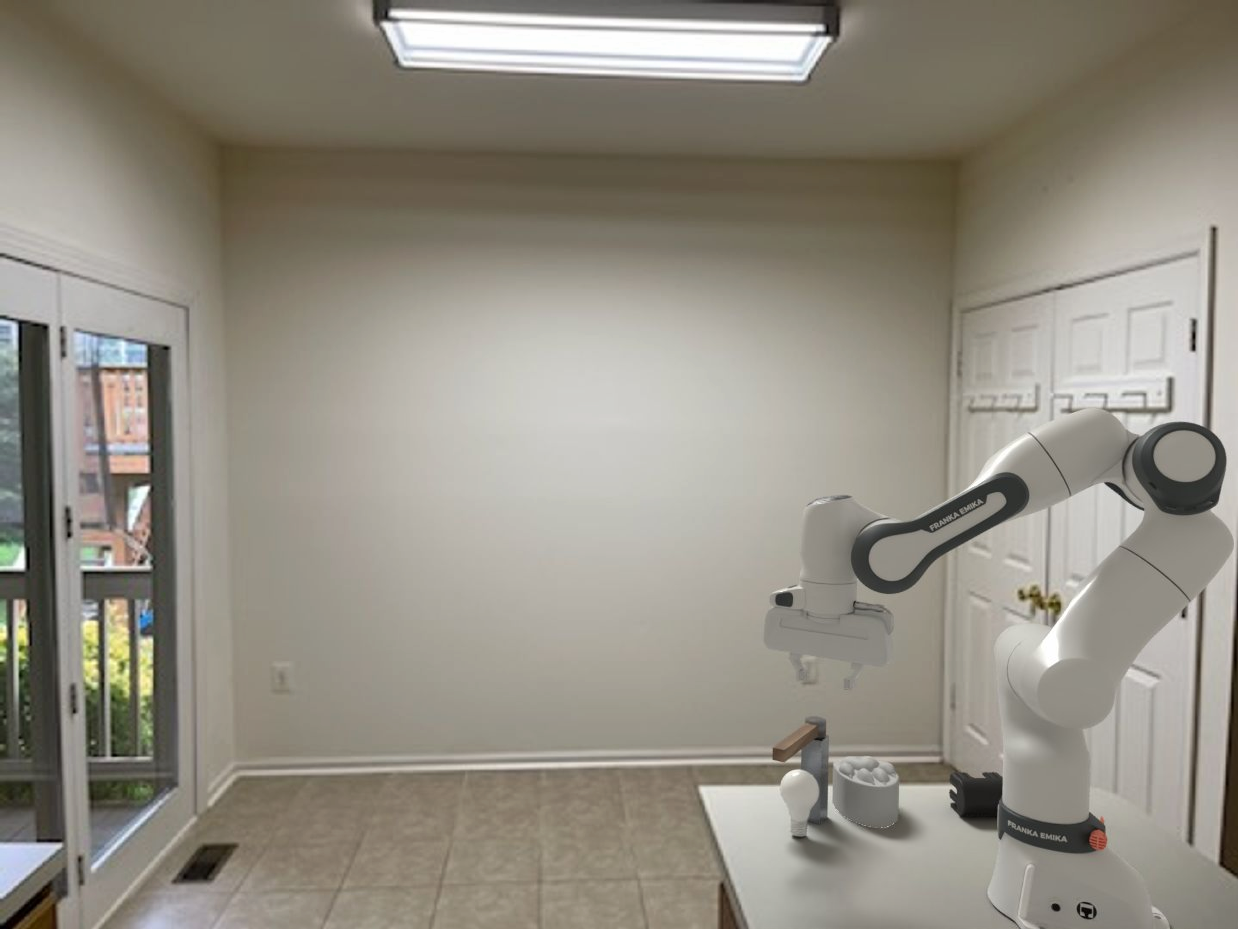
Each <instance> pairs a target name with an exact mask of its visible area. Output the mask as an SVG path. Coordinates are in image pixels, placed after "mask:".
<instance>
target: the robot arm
mask: <svg viewBox="0 0 1238 929" xmlns="http://www.w3.org/2000/svg"><path fill="white" fill-rule="evenodd" d="M1227 459H1228V458H1227V452H1226V449H1225V446H1224V444H1223V443H1222V440H1221V439H1220V437H1219V436H1218V435H1217V434H1215V433H1214V432H1213V431H1212V430H1210V429H1208V428H1207V427H1205V426H1203V425H1200V424H1197V423H1194V422H1189V421H1170V422H1166V423H1162V424H1158V425H1156V426H1154V427H1152V428H1150V429H1149V430H1147V431H1146V432H1145V433H1143V434H1142V435H1140V434H1137V433H1133V432H1132V431H1130V430H1129V429H1126V427H1125V426H1124V424H1123V423H1122V422H1121V421H1120V420H1119V418H1117V417H1116V416H1115V415H1114V414H1112V413H1110V412H1109V411H1107V410H1106V409H1102V408H1098V407H1087V408H1084V409H1080V410H1077V411H1075V412H1072V413H1068V414H1066V415H1063V416H1060V417H1058V418H1056V419H1053V420H1051V421H1048V422H1046V423H1044V424H1041V425H1039V426H1037V427H1035V428H1034V429H1031V430H1029V431H1027V432H1025V433H1024V434H1022V435H1020V436H1019V437H1017V438H1015V439H1014V440H1012V441H1010V442H1009V443H1007V444H1006V445H1005V446H1003V447H1002V448H1000V449H999V450H998V451H996V452H995V453H994V454H993V455H991V456H990V457H989V458H988V459H987V460H986V461H985V464H984V465H983V467H982V468H981V470H980V473H979V474H978V476H977V477H976V478H975V479H974V481H972V483H971V484H969V486H968V487H966V488H965V489H964V490H962V491H961V492H959V493H958V494H956V495H955V496H953V497H951V498H949V499H947V500H946V501H944V502H941V503H940V504H939V505H936V506H934V507H933V508H931V509H929V510H927V511H925V512H924V513H921V514H920V515H919V516H916V517H915V518H911V519H909V520H905V521H903V520H900V519H897V518H894V517H891V516H889V515H888V516H887V515H886V514H882V513H880V512H878V511H875V510H873V509H871V508H869V507H868V506H865V505H864V504H863V503H861V502H859V501H858V500H857V499H855V498H854V496H851V495H848V494H836V495H828V496H823V497H819V498H815V499H813V500H812V501H810V502H809V503H808V504H807V505H805V507H804V509H803V512H802V516H801V523H800V531H799V532H800V533H799V534H800V535H799V553H800V558H801V569H800V573H799V575H798V576H799V578H798V584H795V585H791V586H788V587H785V588H784V587H783V588H781V589H778V590H775V591H773V592H771V593H770V594H769V597H768V598H769V600H768V601H769V605H771V607H770V608H768V610H767V611H766V613H765V619H764V626H763V643H764V645H765V646H766V648H767V649H768V650H771V651H773V650H774V651H778V652H779V651H780V652H785V653H789V654H788V655H789V656H788V659H789V661H790V663H791V665H792V667H793V669H794V671H795V681H796V682H801V683H806V682H808V681H809V669H807V668H804V665H803V663H802V661H801V659H802V658H803V656H809V657H810V656H811V657H815V658H822V659H827V660H829V659H830V660H834V661H842V662H847V663H850V669H851V670H854V671H853V672H852V674H851V675H850V676H848V675H847V676H846V677H844V678H843V684H844V685H843V690H844V691H845V690H846V691H851V692H854V691H855V690H856V691H857V687H858V686H857V685H858V684H857V680H858V678H859V676H860V674H862V671H863V670H864V669H865V666H872V667H876V668H877V667H878V668H884V667H885V666H887V665H889V664H890V663H891V662H892V660H893V659H894V644H893V635H892V632H893V631H894V627H895V626H894V625H895V624H894V623H895V618H894V614H893V612H892V611H891V610H890V609H889V608H887V607H885V605H883V604H880V603H874V604H873V603H868V602H863V601H857V595H858V594H857V591H858V587H857V586H858V584H857V583H858V582H857V581H858V580H859V582H860V583H861V584H863V585H864V586H865V587H866V588H868V589H869V590H871V591H873V592H876V593H879V594H884V595H895V594H900V593H903V592H905V591H907V590H910V589H911V588H913V587H914V585H916V584H917V583H918V582H919V581H920V579H921V578H922V577H923V576H924V574H925V573H926V572H927V570H928V569H929V568H930V567H931V566H932V565H933V563H934V562H935V561H937V560H938V559H939V558H940V557H942V556H944V555H946V554H947V553H949V552H951V551H952V550H954V549H956V548H958V547H959V546H962V545H964V544H966V543H967V542H969V541H970V540H973V539H974V538H976V537H978V536H980V535H981V534H983V533H986V532H987V531H990V529H993V528H995V527H997V526H1000V525H1002V524H1005V523H1008V522H1011V521H1013V520H1016V519H1017V520H1018V519H1019V518H1022V517H1026V516H1028V515H1032V514H1035V513H1038V512H1041V511H1042V510H1045V509H1048V508H1050V507H1053V506H1055V505H1057V504H1060V503H1061V502H1063V501H1065V500H1068V499H1070V498H1071V497H1073V496H1075V495H1077V494H1079V493H1081V492H1082V491H1085V490H1087V489H1089V488H1091V487H1094V486H1095V485H1099V484H1104V485H1105V486H1106V487H1108V488H1109V489H1110V490H1112V491H1113V492H1114V493H1115V494H1117V495H1118V496H1120V497H1121V499H1123V500H1124V501H1125V502H1127V503H1128V504H1130V505H1131V506H1132V507H1134V508H1136V509H1138V510H1140V511H1143V513H1144V514H1143V517H1142V519H1141V522H1140V523H1139V525H1138V526H1137V527H1136V529H1135V530H1134V531H1133V532H1132V533H1131V534H1130V535H1129V536H1128V537H1127V538H1126V539H1125V540H1124V541H1123V542H1122V543H1120V544H1119V545H1118V546H1117V547H1116V548H1114V549H1113V551H1112V552H1111V553H1110V554H1108V555H1107V557H1105V558H1104V560H1102V561H1101V562H1100V563H1099V564H1098V565H1097V566H1096V567H1095V568H1094V569H1093V570H1092V571H1091V572H1089V574H1088V575H1086V576H1085V577H1084V578H1083V579H1081V581H1080V582H1079V583H1078V584H1077V585H1076V587H1075V588H1074V593H1073V596H1072V598H1071V601H1070V602H1069V603H1068V605H1067V607H1066V608H1065V610H1064V611H1063V613H1062V614H1061V616H1060V617H1059V618H1058V620H1057V622H1056V623H1055V624H1054V625H1053V626H1052V627H1051V626H1049V625H1046V624H1041V623H1037V622H1035V623H1033V622H1021V623H1020V622H1019V623H1016V624H1013V625H1010V626H1009V627H1007V628H1005V629H1004V630H1003V631H1002V632H1001V633H1000V634H999V635H998V636H997V638H996V641H995V643H994V646H993V658H994V664H995V670H996V671H995V672H996V688H997V700H998V710H999V717H1000V718H999V719H1000V726H1001V734H1002V751H1003V752H1002V754H1003V755H1002V761H1003V762H1002V777H1003V789H1002V796H1001V799H1000V800H999V805H998V815H997V816H996V818H997V820H996V822H997V823H996V824H997V826H996V827H997V829H996V830H997V833H998V834H997V836H998V839H999V843H998V848H997V850H998V851H997V855H996V861H995V866H994V869H993V873H992V877H991V879H990V883H989V885H988V888H987V894H986V895H987V897H988V899H989V901H990V902H991V904H992V905H993V906H994V907H995V908H996V909H997V910H998V911H1000V912H1001V913H1002V914H1004V915H1005V916H1006V917H1008V918H1010V919H1011V920H1013V921H1014V922H1015V923H1016V925H1017V926H1018V927H1019V928H1020V929H1171V925H1170V923H1169V921H1168V919H1167V917H1166V916H1165V915H1164V913H1163V912H1162V911H1161V910H1159V909H1158V908H1157V907H1155V906H1153V904H1152V900H1151V896H1150V893H1149V892H1150V891H1149V889H1148V886H1147V884H1146V881H1145V879H1144V878H1143V876H1142V875H1141V874H1140V872H1139V871H1137V870H1136V869H1135V868H1134V867H1132V866H1131V865H1130V864H1129V863H1128V862H1126V860H1124V859H1123V858H1122V857H1121V856H1119V855H1118V854H1117V853H1116V851H1114V850H1113V849H1112V848H1111V847H1109V846H1108V844H1107V843H1108V837H1107V832H1106V830H1107V829H1106V825H1105V819H1104V817H1103V816H1100V819H1099V818H1098V817H1096V815H1094V814H1093V813H1092V812H1090V796H1091V795H1090V792H1091V790H1090V789H1091V756H1090V752H1089V749H1088V746H1087V742H1086V738H1085V737H1086V736H1085V733H1084V730H1086V729H1087V730H1088V729H1090V728H1093V727H1095V726H1097V725H1099V724H1100V723H1102V721H1104V720H1105V719H1106V718H1107V717H1108V716H1109V715H1110V713H1111V711H1112V709H1113V707H1114V705H1115V699H1116V698H1115V697H1116V691H1117V689H1118V687H1119V685H1120V684H1121V682H1122V680H1123V679H1124V677H1125V675H1126V674H1127V673H1128V672H1129V669H1130V668H1131V666H1132V665H1133V663H1134V662H1135V660H1136V659H1137V657H1138V656H1139V654H1140V653H1141V652H1142V651H1143V649H1144V648H1145V646H1147V644H1149V642H1150V641H1151V640H1152V639H1153V638H1154V637H1155V636H1157V634H1159V633H1160V631H1162V630H1163V628H1165V627H1166V626H1167V624H1169V623H1171V621H1172V620H1173V619H1174V618H1176V616H1177V615H1178V614H1180V613H1181V612H1182V611H1183V610H1184V609H1185V608H1186V607H1187V606H1188V605H1190V603H1192V602H1193V600H1194V599H1196V597H1198V596H1199V595H1200V594H1201V593H1202V592H1203V591H1204V589H1205V588H1206V587H1207V586H1208V585H1210V583H1211V582H1212V580H1213V579H1215V577H1216V576H1217V574H1218V573H1219V572H1220V571H1221V569H1222V568H1223V566H1224V565H1225V564H1226V562H1227V561H1228V560H1229V558H1230V556H1231V555H1232V553H1233V551H1234V548H1235V547H1234V545H1235V540H1234V537H1233V534H1232V532H1231V530H1230V529H1229V527H1228V526H1227V524H1225V522H1224V521H1223V520H1222V519H1221V518H1220V517H1219V516H1217V514H1215V513H1214V512H1213V511H1212V510H1211V509H1213V508H1215V507H1216V506H1217V505H1218V504H1219V501H1220V496H1221V491H1222V487H1223V482H1224V479H1225V476H1226V471H1227ZM857 579H858V580H857Z"/></svg>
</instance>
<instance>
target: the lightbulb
mask: <svg viewBox="0 0 1238 929" xmlns="http://www.w3.org/2000/svg"><path fill="white" fill-rule="evenodd" d="M779 791H780V797H781V798H782V800H783V802H784V803H785V805H786V808H787V810H788V815H789V817H790V833H791V834H792V835H793V836H795V837H797V838H802V837H805V836H807V835H808V821H807V819H808V818H809V814H810V811H811V809H812V807H813V806H814V805H815V803H816V802H817V800H818V797H819V786H818V783H817V781H816V779H815V778H814V777H813V775H811V774H810V773H809V772H807V771H805V770H801V768H800V769H799V768H798V769H792V770H790V771H788V772H787V773H786V774H784V776H783V777H782V779H781V781H780V786H779Z"/></svg>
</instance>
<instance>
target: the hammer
mask: <svg viewBox="0 0 1238 929" xmlns="http://www.w3.org/2000/svg"><path fill="white" fill-rule="evenodd" d="M826 735H827V719H826V718H824V717H821V716H815V715H811V716H810V715H809V716H806V717H805V718H804V724H803V725H801V726H800V727H798V728H797V729H796V730H795V731H793V732H791V734H789V735H787V736H786V737H785V738H784V739H782V740H781V741H780V742H778V743H776V745H774V746H773V747H772V761H776V762H780V763H786V762H787V761H788V760H790V759H791V758H792V757H793V756H795V755H796V754H797V753H799V752H800V751H801V749H802V748H804V747H805V746H806V745H807V744H809V743H810V742H811V741H813V740H814V739H815V738H824V737H826Z"/></svg>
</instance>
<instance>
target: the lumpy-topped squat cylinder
mask: <svg viewBox="0 0 1238 929" xmlns="http://www.w3.org/2000/svg"><path fill="white" fill-rule="evenodd" d="M831 802H832V805H833V804H834V805H833V806H835V807H834V809H835V810H836V809H837V810H838V811H839V812H840V813H839V812H838V811H837V810H836V811H837V812H838V813H839V815H840V814H841V815H840V816H841V817H843V816H845V817H846V818H848V819H850V820H852V821H853V822H852V821H851V822H852V823H854V822H857V823H860V824H863V825H866V826H871V827H877V828H876V829H885V828H884V827H887V826H890V825H892V824H893V823H895V822H896V821H897V822H898V820H899V816H898V815H900V814H899V810H900V809H899V808H900V807H899V806H900V805H899V804H900V776H899V775H898V773H897V772H896V770H895V767H894V765H893V764H892V763H890V762H888V761H882V760H878V759H876V758H874V757H873V756H870V755H864V756H856V755H855V756H854V755H853V756H852V755H851V756H850V755H849V756H846V757H843V758H838V759H836V760H834V761H833V765H832V801H831ZM846 818H845V819H846ZM848 819H847V820H848ZM897 819H898V820H897ZM850 820H849V821H850ZM897 822H896V823H897ZM857 823H856V824H857ZM863 825H862V826H863ZM866 826H865V827H866ZM871 827H870V828H871ZM881 827H883V828H881Z"/></svg>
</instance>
